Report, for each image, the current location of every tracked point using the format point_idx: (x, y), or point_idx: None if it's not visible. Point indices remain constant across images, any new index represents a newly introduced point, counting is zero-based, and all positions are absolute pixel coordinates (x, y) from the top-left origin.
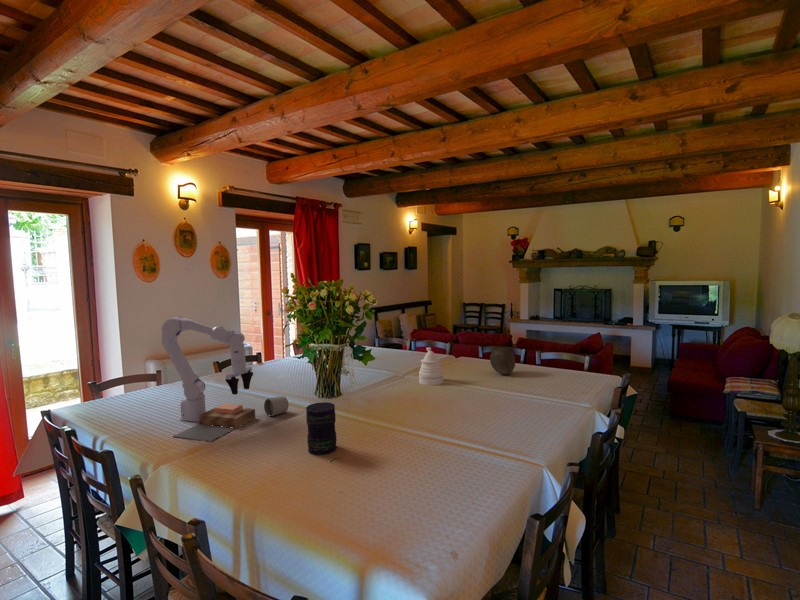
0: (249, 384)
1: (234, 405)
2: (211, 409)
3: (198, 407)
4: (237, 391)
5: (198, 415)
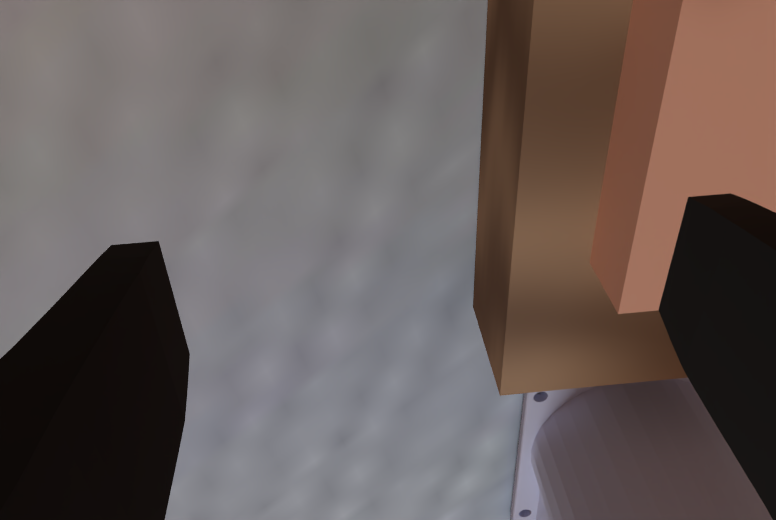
0: (53, 326)
1: (747, 46)
2: (668, 378)
3: (754, 497)
4: (754, 225)
5: (709, 415)
